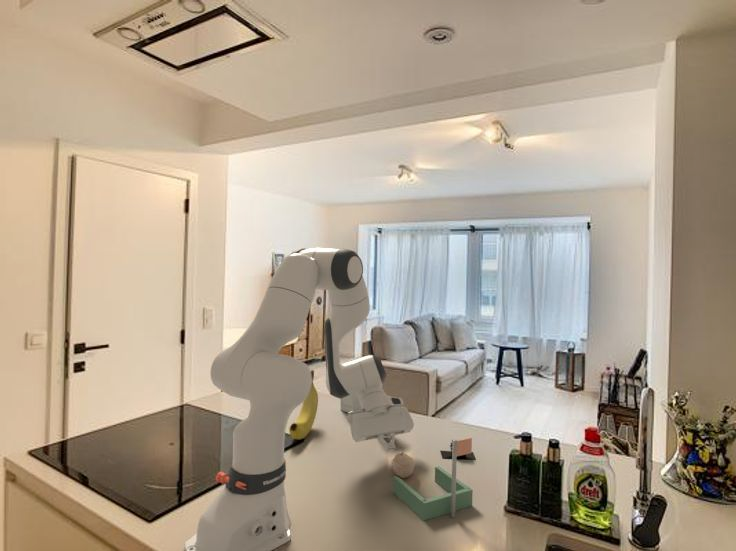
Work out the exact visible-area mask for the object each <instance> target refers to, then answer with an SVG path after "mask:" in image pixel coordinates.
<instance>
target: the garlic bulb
mask: <svg viewBox="0 0 736 551" xmlns="http://www.w3.org/2000/svg"><path fill="white" fill-rule="evenodd" d="M392 469H393V471H394V474H396V476H398V477H399V478H400V479H401V478H402V479H408V478H409V477H410V476H411V475H412V474H413V473H414V469H415V461H414V459H413V458H412V456H410V455H408V454H407V453H404V452H403V451H402V452H399V453H397V454H396V455H394V458H393V459H392Z"/></svg>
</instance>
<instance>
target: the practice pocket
mask: <svg viewBox="0 0 736 551" xmlns="http://www.w3.org/2000/svg"><path fill="white" fill-rule="evenodd" d="M452 440H453V446H452V459H451V473H449V472H448V471H447V470H445V469H443V467H440V465H439V466H438V465H437V466H435V467H434V482H435V483H436V484H438V485H439V486H440V487H441V488H442V489H444V490H445V491H447V492H448V493H444V494H441V495H438V496H437V495H436V496H433V497H429V498H427V499H425V498H424V497H423V496H421V494H420V493H419V492H417V491H416V490H414V488H412V487H411V486H410V485H409V484H407V483H406V482H405V481H404V479H403V478H402V479H401V477H400V476H398V475H395V476H393V480H392V481H393V482H392V484H393V487H392V488H393V489H392V492H393V493H394V495H396V496H397V497H398V498H399V500H401V501H402V502H403V503H404V504H405V505H406V506H407V507H408V508H409V509H411V510H412V511H413V513H415V514H416V515H417V516H418V517H419V518H420V519H421V520H422V521H427V520H430V519H433V518H437V517H440V516H442V515H448V514H450V518H452V519H454V518H455V517H456V512H457V511H460V510H463V509H466V508H467V509H468V508H469V507H473V491H474V490H473V489H472V488H471V487H469V486H468V485H467V484H465V483H464V482H462V481H461V480H460V479H458V478H457V456H461V455H465V454H470V453H471V452H472V441H473V438H472V437H467V438H464V439H452Z"/></svg>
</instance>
